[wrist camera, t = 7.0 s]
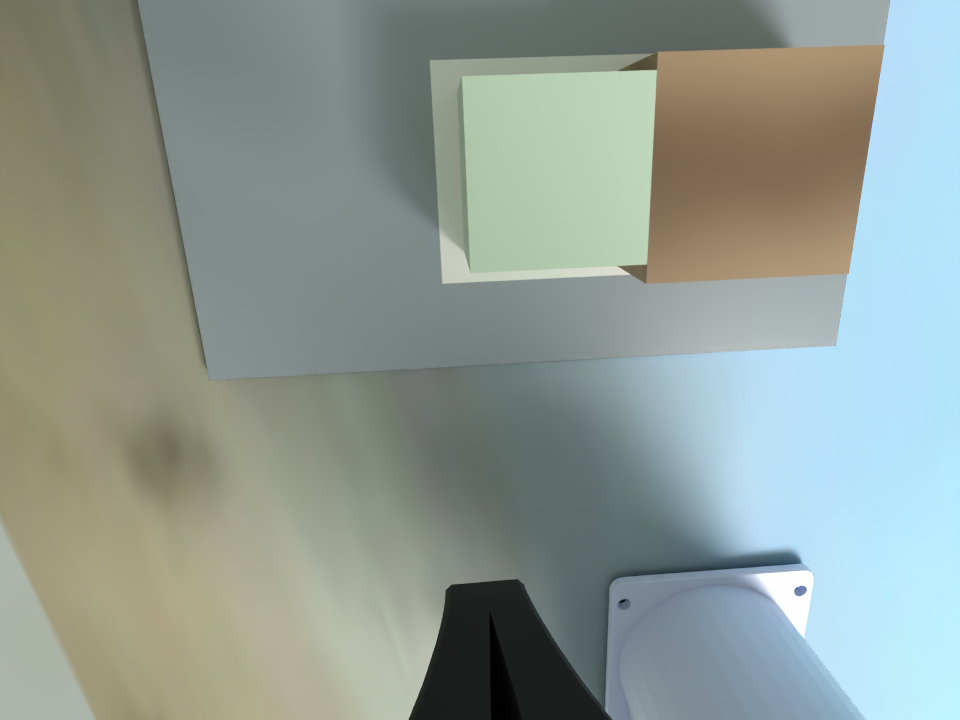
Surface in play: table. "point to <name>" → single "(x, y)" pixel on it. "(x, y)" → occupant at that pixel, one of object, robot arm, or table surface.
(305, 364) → the plate
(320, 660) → the table surface
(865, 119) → the walnut block
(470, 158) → the green block
